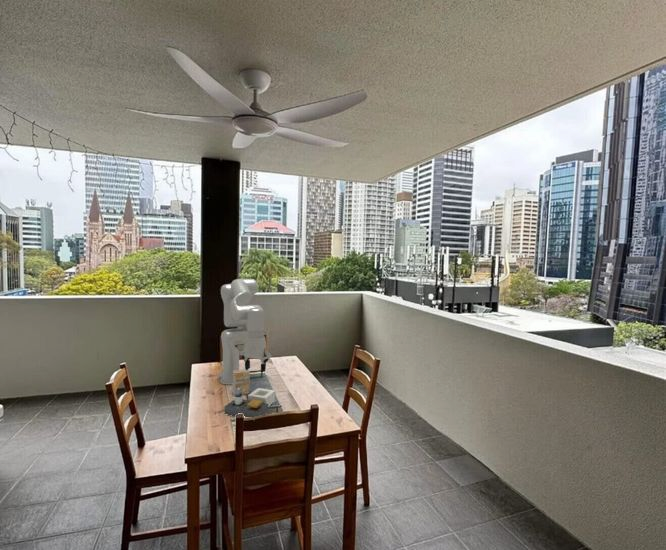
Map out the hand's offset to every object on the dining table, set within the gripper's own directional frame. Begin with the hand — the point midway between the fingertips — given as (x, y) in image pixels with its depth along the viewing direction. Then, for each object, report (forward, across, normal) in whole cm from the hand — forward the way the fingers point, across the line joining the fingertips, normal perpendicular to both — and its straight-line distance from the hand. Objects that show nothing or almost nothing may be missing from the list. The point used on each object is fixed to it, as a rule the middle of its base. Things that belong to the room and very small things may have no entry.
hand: (255, 370), depth 161 cm
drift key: (+21, 0, 0) cm, 21 cm away
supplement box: (+22, -20, +18) cm, 35 cm away
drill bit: (+22, -9, 0) cm, 24 cm away
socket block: (+22, -4, 0) cm, 22 cm away
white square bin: (+22, -2, +11) cm, 25 cm away
